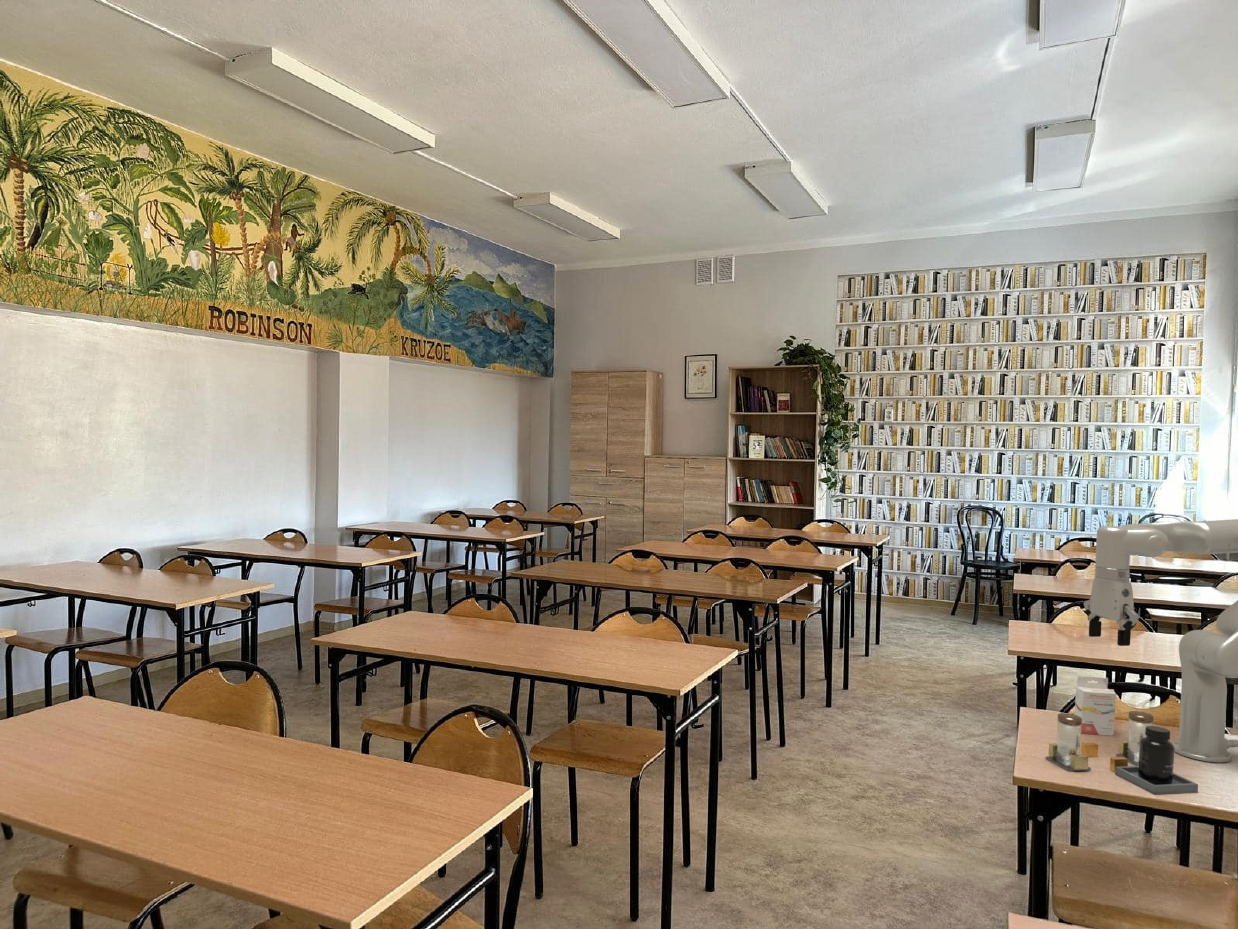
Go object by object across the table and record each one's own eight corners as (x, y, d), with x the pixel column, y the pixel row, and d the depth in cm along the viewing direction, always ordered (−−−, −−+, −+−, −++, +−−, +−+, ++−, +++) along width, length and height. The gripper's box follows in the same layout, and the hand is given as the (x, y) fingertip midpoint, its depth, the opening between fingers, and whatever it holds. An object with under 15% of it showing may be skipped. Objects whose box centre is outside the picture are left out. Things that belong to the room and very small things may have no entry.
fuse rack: (1131, 753, 212) (1134, 707, 212) (1167, 769, 201) (1169, 721, 201) (1041, 756, 208) (1043, 709, 207) (1072, 774, 197) (1075, 724, 196)
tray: (1156, 772, 199) (1157, 765, 199) (1197, 792, 188) (1198, 784, 188) (1115, 774, 197) (1115, 767, 197) (1154, 794, 186) (1154, 786, 186)
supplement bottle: (1174, 788, 188) (1176, 736, 188) (1138, 781, 192) (1141, 730, 191) (1171, 778, 194) (1173, 727, 194) (1137, 772, 198) (1139, 722, 197)
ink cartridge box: (1081, 734, 226) (1083, 680, 225) (1073, 728, 231) (1075, 675, 230) (1114, 736, 225) (1117, 682, 225) (1105, 730, 230) (1108, 677, 230)
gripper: (1151, 580, 205) (1148, 649, 205) (1099, 569, 222) (1096, 633, 222) (1125, 580, 203) (1122, 649, 204) (1074, 569, 220) (1071, 633, 221)
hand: (1108, 640), depth 213 cm, fingers open, 9 cm apart
